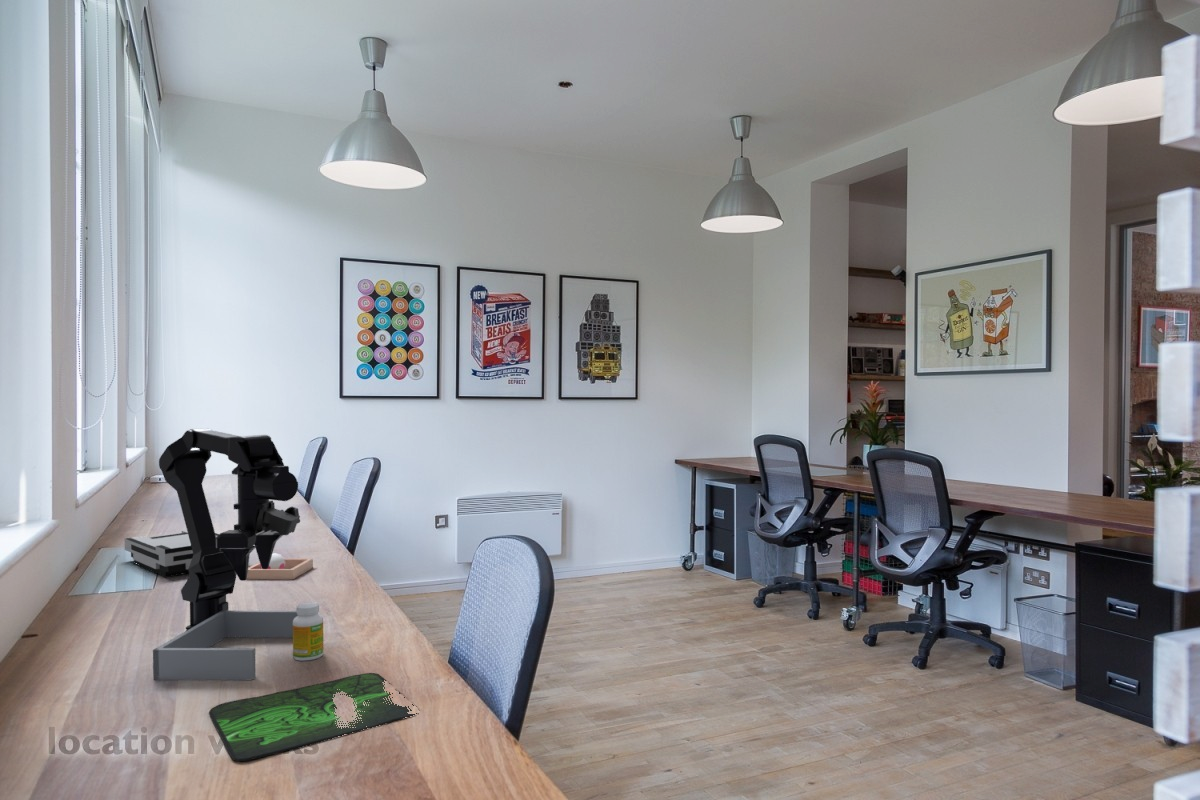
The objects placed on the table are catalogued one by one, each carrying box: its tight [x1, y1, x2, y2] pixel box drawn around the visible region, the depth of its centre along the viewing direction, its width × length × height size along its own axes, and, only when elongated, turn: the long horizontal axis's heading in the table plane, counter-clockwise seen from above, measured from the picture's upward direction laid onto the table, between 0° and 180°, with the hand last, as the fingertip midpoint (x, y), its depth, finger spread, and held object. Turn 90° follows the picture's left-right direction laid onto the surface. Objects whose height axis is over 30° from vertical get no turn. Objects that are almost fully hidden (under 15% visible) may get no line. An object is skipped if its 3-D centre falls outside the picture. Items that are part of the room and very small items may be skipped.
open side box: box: [152, 610, 298, 681], centre depth 142 cm, size 18×23×5 cm
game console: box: [123, 529, 220, 578], centre depth 218 cm, size 21×32×8 cm, turn 49°
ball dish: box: [246, 558, 314, 580], centre depth 206 cm, size 13×13×2 cm
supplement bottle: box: [292, 601, 324, 662], centre depth 142 cm, size 5×5×10 cm
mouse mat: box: [208, 672, 418, 762], centre depth 118 cm, size 27×22×1 cm
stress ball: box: [260, 552, 285, 569], centre depth 204 cm, size 8×8×7 cm
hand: (254, 574), depth 152 cm, fingers open, 9 cm apart
